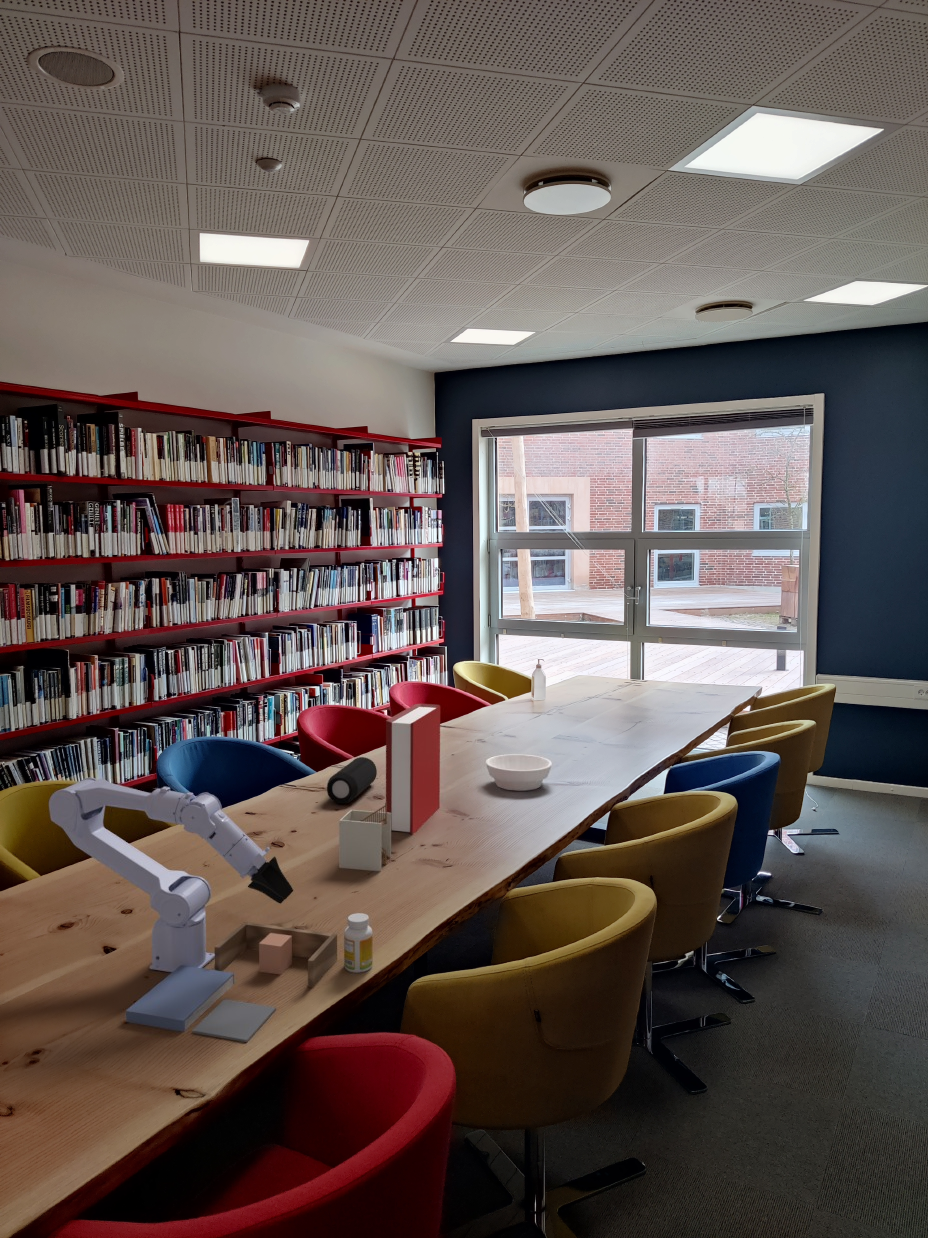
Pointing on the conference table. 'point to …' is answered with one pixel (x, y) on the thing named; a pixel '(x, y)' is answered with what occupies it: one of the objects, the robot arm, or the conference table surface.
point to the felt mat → (234, 1020)
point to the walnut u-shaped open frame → (303, 944)
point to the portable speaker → (351, 780)
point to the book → (413, 766)
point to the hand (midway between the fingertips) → (287, 897)
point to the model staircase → (365, 839)
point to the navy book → (180, 998)
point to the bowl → (518, 771)
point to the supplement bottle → (358, 944)
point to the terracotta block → (275, 953)
